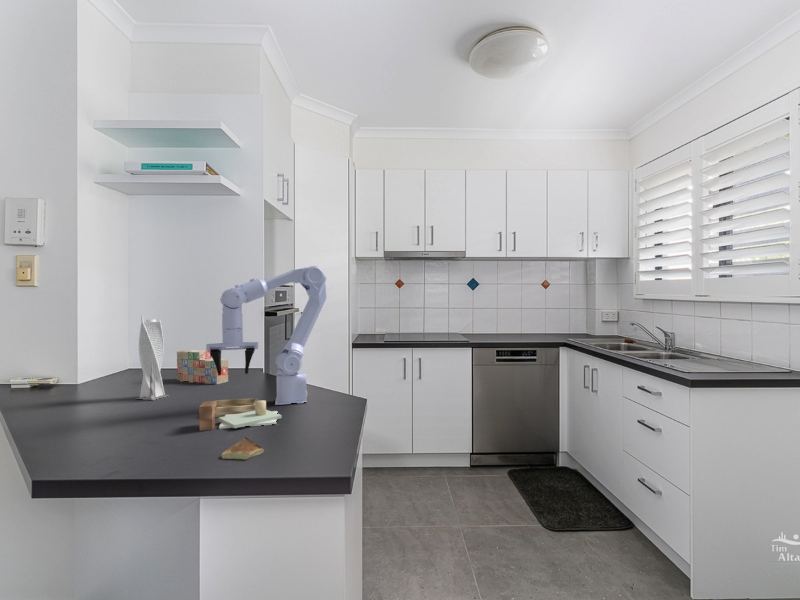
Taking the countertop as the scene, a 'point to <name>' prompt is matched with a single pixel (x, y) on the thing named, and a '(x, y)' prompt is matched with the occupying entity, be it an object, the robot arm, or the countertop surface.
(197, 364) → the stack of blocks
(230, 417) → the lid
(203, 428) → the brown rectangular block
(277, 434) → the countertop surface
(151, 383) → the skyscraper
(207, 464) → the countertop surface
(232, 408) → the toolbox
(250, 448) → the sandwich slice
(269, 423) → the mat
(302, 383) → the robot arm
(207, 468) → the countertop surface
